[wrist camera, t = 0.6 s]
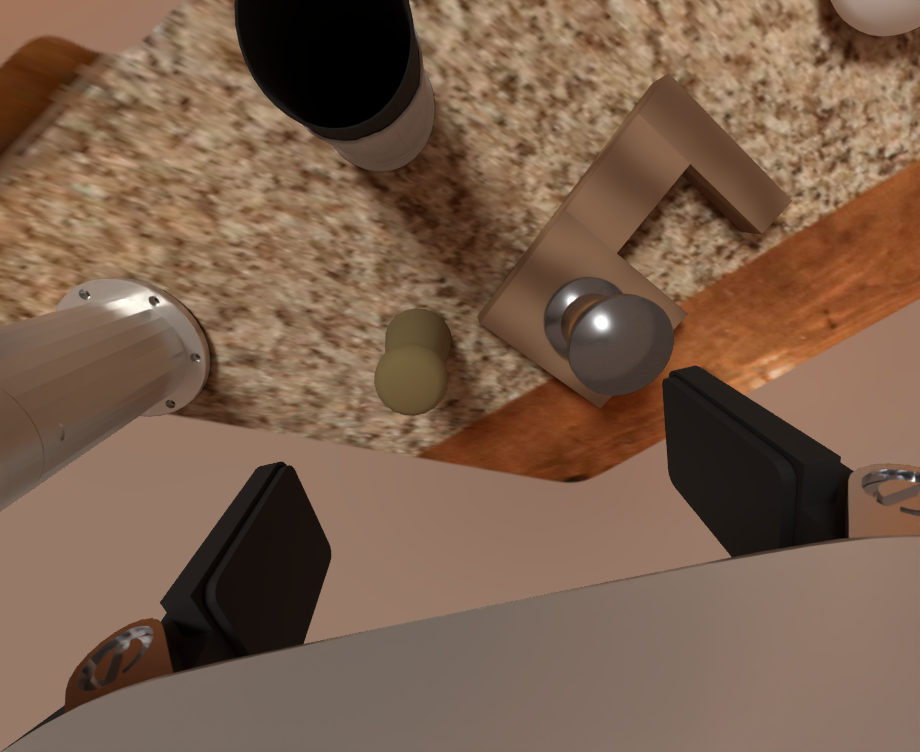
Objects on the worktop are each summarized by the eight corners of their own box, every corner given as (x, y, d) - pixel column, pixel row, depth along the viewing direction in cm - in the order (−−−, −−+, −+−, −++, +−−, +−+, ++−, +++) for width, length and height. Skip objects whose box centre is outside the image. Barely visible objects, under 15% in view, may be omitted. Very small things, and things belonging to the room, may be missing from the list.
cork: (461, 358, 40) (467, 410, 29) (401, 380, 40) (388, 440, 30) (436, 298, 37) (433, 332, 27) (373, 323, 38) (348, 366, 28)
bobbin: (587, 372, 38) (622, 413, 30) (526, 328, 36) (548, 359, 29) (642, 309, 36) (695, 336, 28) (581, 259, 34) (620, 274, 27)
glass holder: (345, 187, 34) (277, 173, 20) (261, -33, 29) (91, -256, 15) (449, 150, 33) (454, 109, 19) (383, -81, 28) (325, -364, 14)
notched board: (591, 397, 42) (600, 409, 39) (477, 316, 38) (479, 323, 36) (769, 201, 35) (792, 200, 33) (652, 83, 32) (668, 73, 30)
